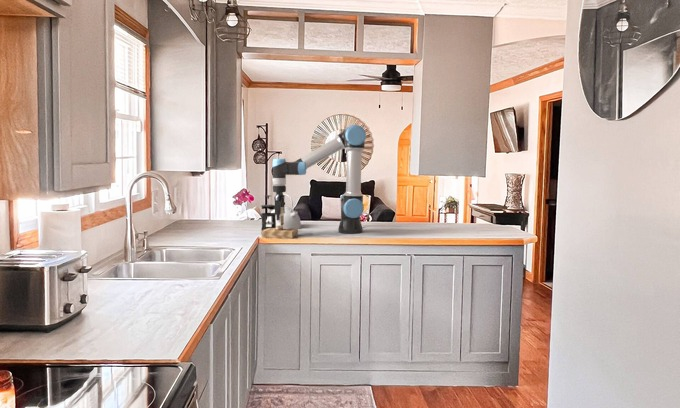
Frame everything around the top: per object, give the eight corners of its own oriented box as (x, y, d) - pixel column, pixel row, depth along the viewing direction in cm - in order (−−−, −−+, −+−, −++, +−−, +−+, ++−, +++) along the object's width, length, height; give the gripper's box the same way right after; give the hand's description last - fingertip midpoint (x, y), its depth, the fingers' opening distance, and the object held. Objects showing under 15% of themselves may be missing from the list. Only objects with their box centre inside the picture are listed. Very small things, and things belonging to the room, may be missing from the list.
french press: (270, 234, 332) (269, 196, 330) (257, 233, 336) (256, 195, 334) (281, 232, 343) (280, 194, 341) (268, 231, 347) (267, 194, 345)
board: (298, 235, 333) (297, 228, 333) (292, 238, 319) (291, 231, 319) (268, 234, 336) (268, 227, 336) (261, 238, 322) (261, 231, 322)
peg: (284, 230, 329) (284, 207, 328) (282, 231, 325) (282, 207, 323) (276, 230, 330) (276, 206, 329) (274, 231, 325) (274, 207, 324)
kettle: (310, 228, 364) (310, 193, 362) (283, 231, 348) (283, 195, 346) (285, 224, 381) (285, 191, 379) (259, 228, 365) (258, 193, 363)
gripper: (277, 184, 334) (277, 222, 336) (268, 186, 317) (269, 226, 319) (289, 184, 333) (290, 223, 335) (281, 186, 315) (281, 227, 318)
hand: (279, 224), depth 327 cm, fingers closed on peg, 5 cm apart
